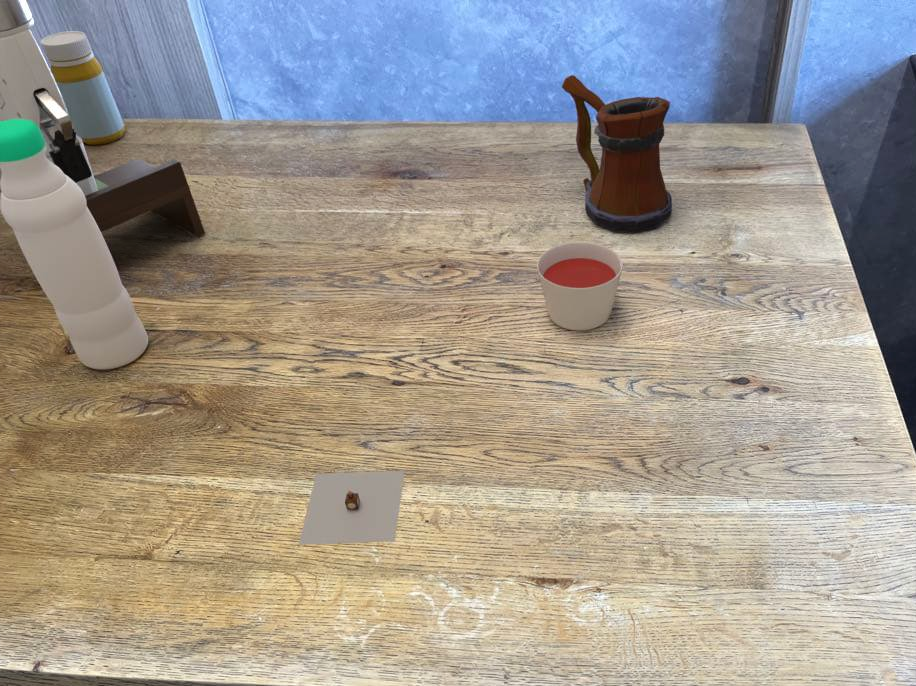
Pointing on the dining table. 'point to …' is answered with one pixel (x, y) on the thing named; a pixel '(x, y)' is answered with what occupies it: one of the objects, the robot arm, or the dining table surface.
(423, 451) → the dining table surface
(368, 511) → the grey flat square
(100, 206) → the shelf
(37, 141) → the water bottle
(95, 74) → the bottle
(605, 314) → the candle
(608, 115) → the mug
